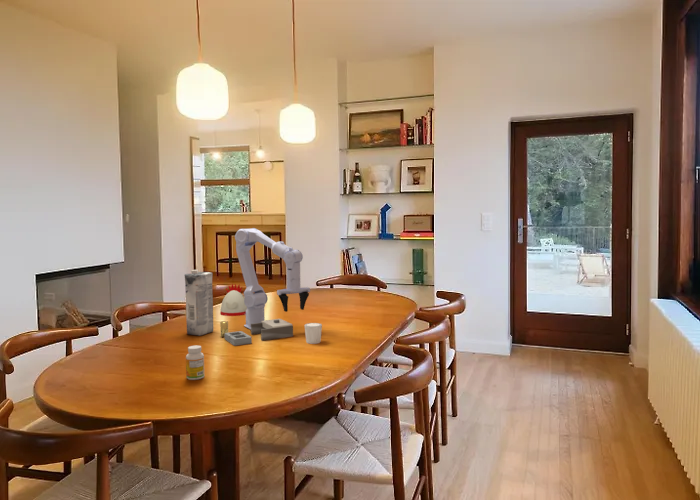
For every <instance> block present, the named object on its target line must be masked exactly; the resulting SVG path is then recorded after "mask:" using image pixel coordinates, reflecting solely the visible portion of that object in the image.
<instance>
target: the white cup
mask: <svg viewBox="0 0 700 500" xmlns="http://www.w3.org/2000/svg"><path fill="white" fill-rule="evenodd" d="M322 328H323V325H322V323H321V322H320V323H318V322H308V323H305V324H304V334H305V341H306V342H305V343H306V344H310V345H311V344H312V345H315V344H320V343H321V342H322V341H321V340H322Z"/></svg>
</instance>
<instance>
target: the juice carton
mask: <svg viewBox="0 0 700 500" xmlns="http://www.w3.org/2000/svg"><path fill="white" fill-rule="evenodd" d="M190 270H191V269H190ZM190 272H191V273H184V283H185V286H184V287H185V309H186V310H185V311H186V312H185V313H186V314H185V317H186V334H187V335H192V336H203V335H206V334H209V333H212V332H214V304H213V303H214V302H213V301H214V299H213V298H214V297H213V272H211V271H210V272H209V271H199V269H192V270H191V271H190Z"/></svg>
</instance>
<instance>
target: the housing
mask: <svg viewBox="0 0 700 500" xmlns="http://www.w3.org/2000/svg"><path fill="white" fill-rule="evenodd" d="M258 334H260V337H261V338H260V339H261V340H260V341H262V342H263V341H270V340H276V339H283V338H291V337H294V325H292V326H285V327H278V328H268V329H266V328H264V327H263V324H262V323H254V324H251V329H250V335H258Z"/></svg>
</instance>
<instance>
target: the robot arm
mask: <svg viewBox="0 0 700 500" xmlns="http://www.w3.org/2000/svg"><path fill="white" fill-rule="evenodd" d="M234 239H235V242H236V244H235V250H236V256H237V258H238V262H239V265H240V269H241V273H242V277H243V280H244V283H245V290H244V291H243V296H244V303H245V305H246V307H247V310H246V314H245V324H244V325H243V326H244V327H245V328H247V329H249V330H251V324H254V323H262V322H261V321H265V320H266V319H265V307H266V304H267V303H268V295H267V293H266V292H265V290H264V287H262V286H261V285H260V284H259V281H258V277H257V274H256V271H255V267H254V264H253V259H252V257H251V256H252V255H251V251H250V250H251V249H252V247H253V246H254V245H256V244H257V242H258V243H260V244H261V245H264V246H265V247H268V248H270V249H271V251H272V254H274V255H276V256H277V257H278V258H281V259H282V260H283V262H284V264H285V267H286V288H283V289H277V290H276V295H278V296H277V297H279V299H280V302H281V304H282V308H283V311H284V312H285V313H287V312H288V311H289V310H288V301H289V296H288V295H292V294H293V295H294V294H298V295H299V307H300V308H299V309H300V310H302V311H303V310H305V306H306V302H307V300H308V298H309V295H310V293H311V287H308V286H307V287H301V262H302V261H303V252H302V251H300V250H299V249H293V247H292V246H288V245H286V244H285V242H284V241H275V240H273V239H272V238H270V237H269V236H267V235H266V234H264V233H263V232H262V230H259V229H257V228H255V227H252V228H239V229H238V230H237V231H236V233H235V235H234Z"/></svg>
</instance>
